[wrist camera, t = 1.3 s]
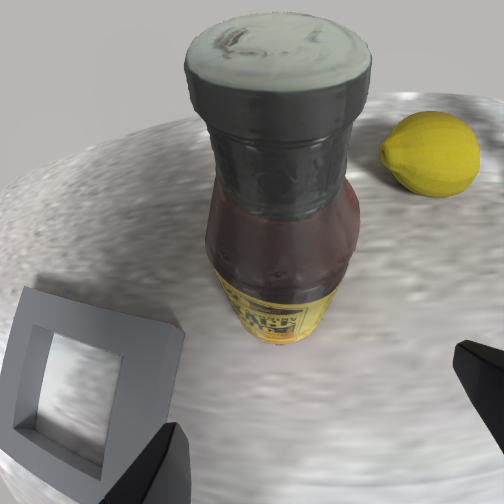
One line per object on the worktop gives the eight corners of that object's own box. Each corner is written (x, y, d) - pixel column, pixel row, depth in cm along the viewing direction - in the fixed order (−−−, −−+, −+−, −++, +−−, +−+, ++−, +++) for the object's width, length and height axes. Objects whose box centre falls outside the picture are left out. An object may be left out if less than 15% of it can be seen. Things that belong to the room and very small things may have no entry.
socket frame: (149, 518, 16) (133, 529, 14) (12, 442, 19) (-9, 441, 16) (185, 333, 23) (171, 323, 20) (43, 297, 26) (24, 285, 23)
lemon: (452, 157, 28) (476, 103, 21) (474, 216, 25) (511, 163, 18) (362, 149, 29) (374, 86, 22) (376, 212, 26) (398, 148, 19)
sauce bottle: (222, 309, 24) (78, 70, 6) (279, 254, 25) (252, -12, 8) (285, 369, 21) (268, 192, 3) (343, 307, 23) (447, 47, 5)
